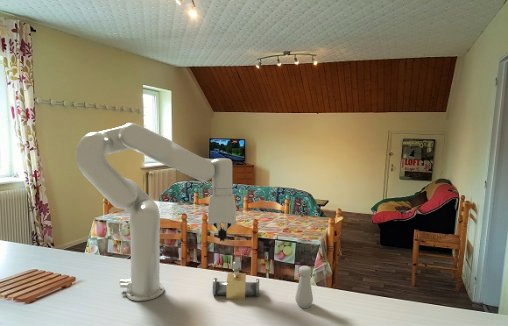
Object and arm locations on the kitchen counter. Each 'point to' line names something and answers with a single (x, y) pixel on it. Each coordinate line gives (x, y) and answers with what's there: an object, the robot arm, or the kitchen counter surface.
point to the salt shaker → (304, 288)
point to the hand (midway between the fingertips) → (222, 239)
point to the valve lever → (237, 261)
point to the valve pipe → (236, 286)
